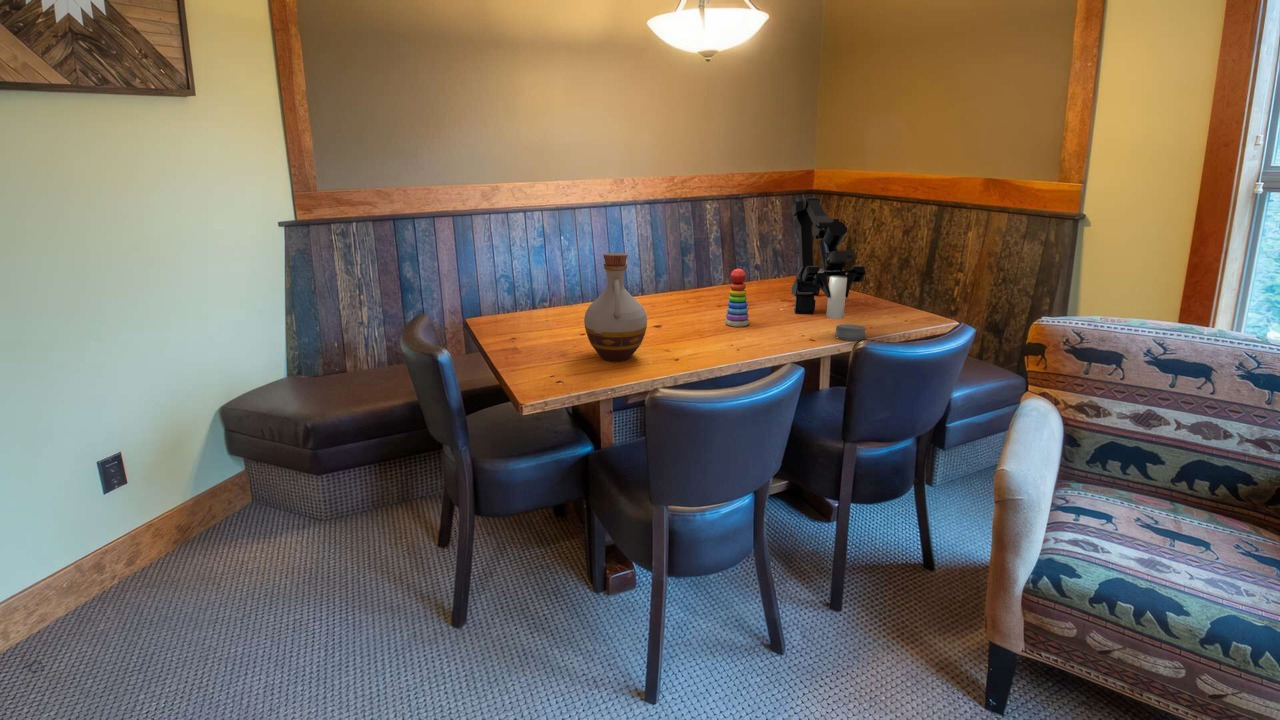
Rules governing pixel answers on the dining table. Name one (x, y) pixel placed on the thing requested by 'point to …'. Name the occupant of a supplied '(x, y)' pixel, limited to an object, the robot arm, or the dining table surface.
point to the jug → (615, 315)
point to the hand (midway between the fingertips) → (838, 297)
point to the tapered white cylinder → (836, 297)
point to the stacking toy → (737, 300)
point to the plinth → (850, 332)
